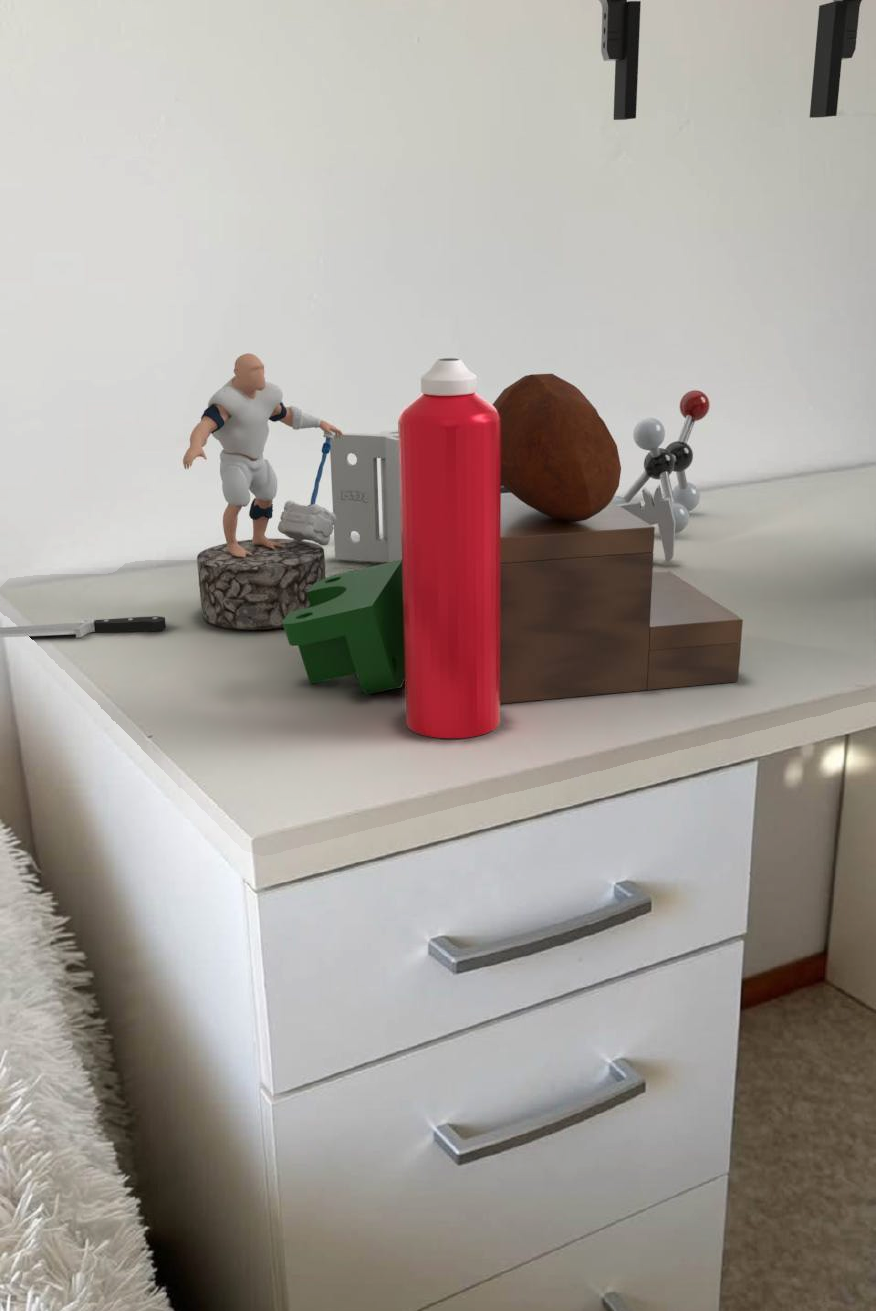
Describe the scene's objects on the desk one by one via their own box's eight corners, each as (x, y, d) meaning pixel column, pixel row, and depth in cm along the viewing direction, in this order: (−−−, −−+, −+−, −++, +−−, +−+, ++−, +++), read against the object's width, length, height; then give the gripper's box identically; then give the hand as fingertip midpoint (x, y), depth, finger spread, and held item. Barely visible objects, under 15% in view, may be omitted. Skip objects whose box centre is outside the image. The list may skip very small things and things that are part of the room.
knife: (-52, 635, 98) (-46, 627, 99) (-50, 645, 98) (-44, 637, 100) (163, 623, 99) (165, 615, 100) (164, 633, 99) (166, 624, 101)
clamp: (349, 714, 96) (325, 582, 96) (434, 696, 95) (409, 562, 95) (291, 704, 84) (263, 554, 84) (386, 683, 83) (358, 531, 83)
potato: (537, 548, 81) (518, 408, 77) (463, 502, 91) (443, 375, 86) (655, 513, 83) (643, 375, 79) (570, 471, 92) (555, 346, 88)
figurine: (232, 648, 95) (209, 368, 88) (148, 626, 100) (119, 359, 93) (376, 601, 106) (367, 346, 98) (293, 583, 111) (278, 339, 103)
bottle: (457, 699, 86) (453, 350, 77) (519, 722, 82) (522, 358, 73) (387, 721, 82) (374, 359, 74) (448, 746, 79) (443, 368, 70)
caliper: (673, 562, 115) (677, 484, 112) (672, 566, 114) (676, 486, 111) (429, 551, 119) (428, 476, 117) (426, 554, 118) (425, 478, 116)
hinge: (331, 558, 117) (326, 432, 113) (378, 547, 120) (374, 424, 116) (453, 586, 108) (452, 451, 104) (500, 573, 112) (501, 442, 107)
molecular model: (594, 527, 125) (598, 402, 121) (652, 502, 134) (658, 385, 130) (680, 538, 121) (687, 409, 117) (734, 511, 130) (743, 391, 126)
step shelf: (667, 627, 98) (675, 481, 94) (738, 681, 88) (751, 520, 84) (443, 646, 95) (441, 496, 91) (488, 705, 85) (489, 538, 80)
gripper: (919, -263, 89) (878, 117, 98) (531, -273, 86) (527, 121, 95) (978, -298, 82) (929, 113, 92) (560, -311, 79) (552, 117, 88)
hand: (724, 118), depth 93 cm, fingers open, 13 cm apart
